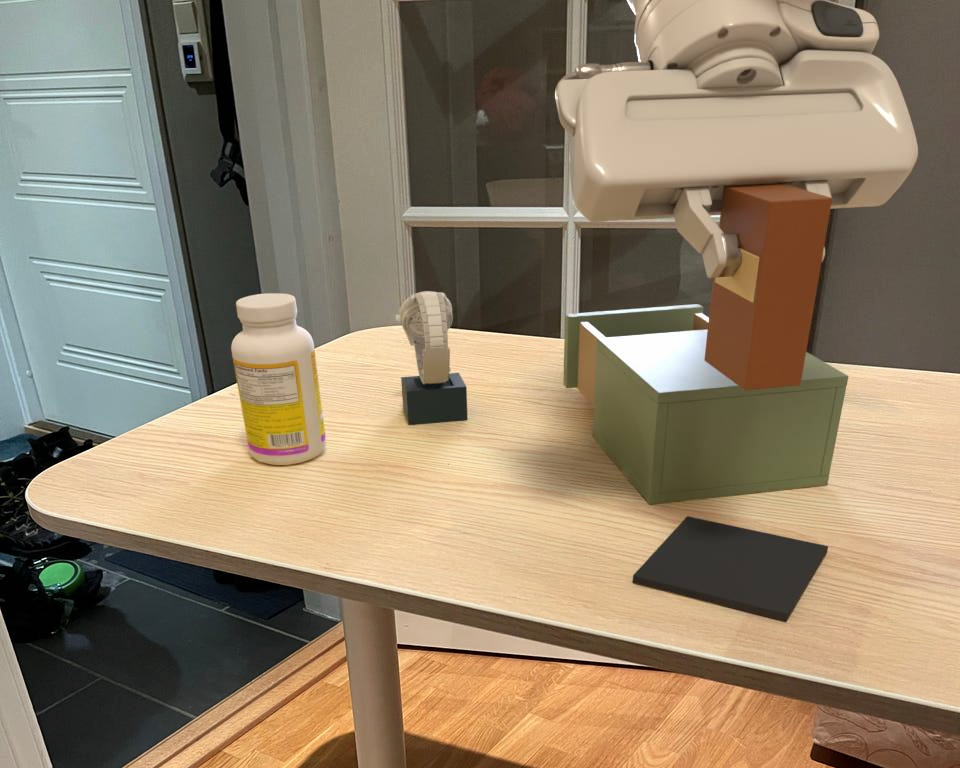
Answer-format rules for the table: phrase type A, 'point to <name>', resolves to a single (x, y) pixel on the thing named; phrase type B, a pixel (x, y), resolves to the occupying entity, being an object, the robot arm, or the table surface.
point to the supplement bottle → (277, 381)
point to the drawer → (615, 324)
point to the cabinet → (709, 421)
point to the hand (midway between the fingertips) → (767, 268)
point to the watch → (431, 362)
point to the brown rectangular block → (767, 284)
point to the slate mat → (733, 567)
